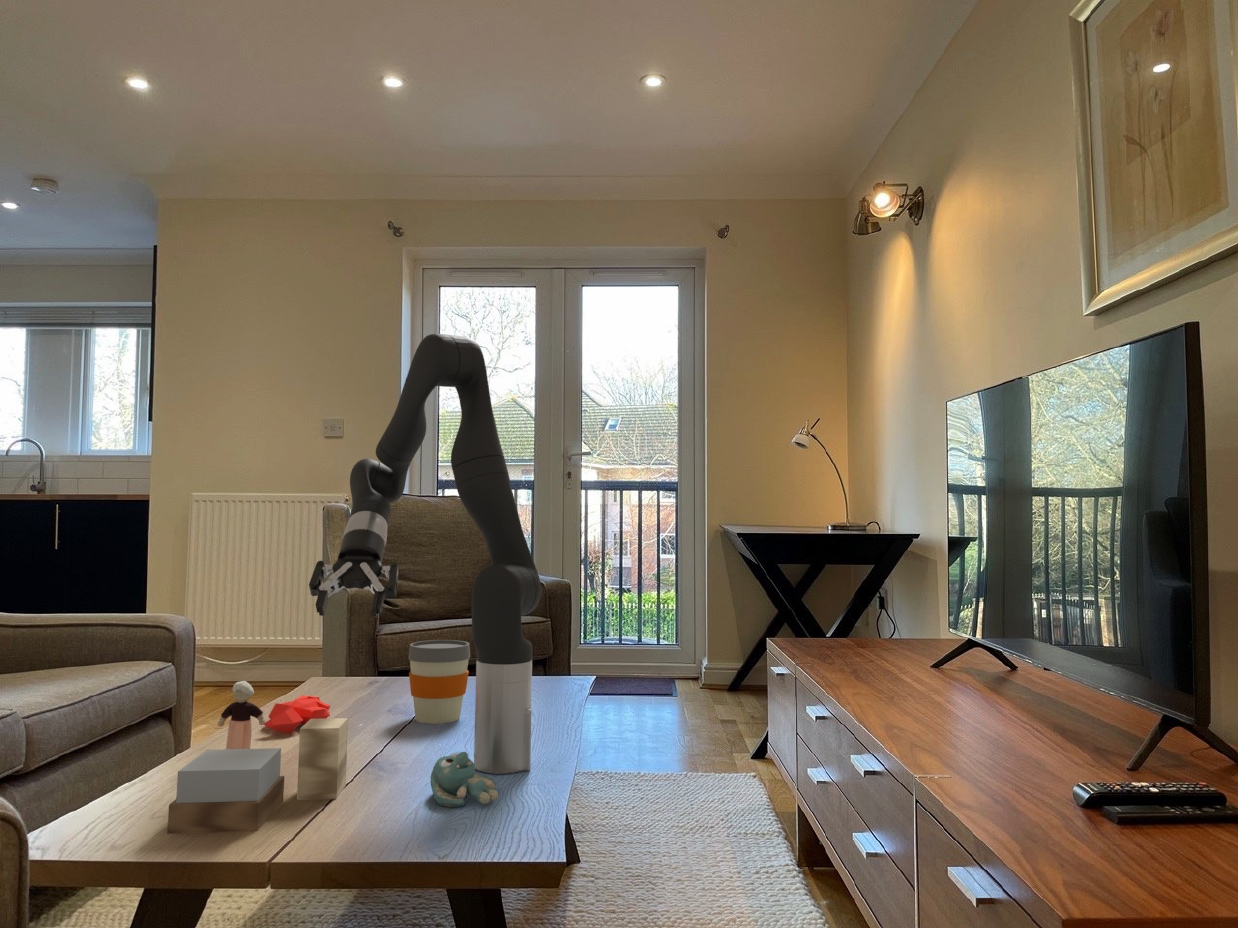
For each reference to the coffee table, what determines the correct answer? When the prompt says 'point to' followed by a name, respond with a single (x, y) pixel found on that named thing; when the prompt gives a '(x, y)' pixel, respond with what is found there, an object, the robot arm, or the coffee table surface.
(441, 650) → the reusable coffee cup
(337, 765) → the oak block
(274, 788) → the tower base
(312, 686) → the coffee table surface
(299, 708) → the animal figurine
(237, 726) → the grandmother figurine
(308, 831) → the coffee table surface
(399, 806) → the coffee table surface
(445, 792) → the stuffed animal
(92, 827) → the coffee table surface
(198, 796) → the tower top
